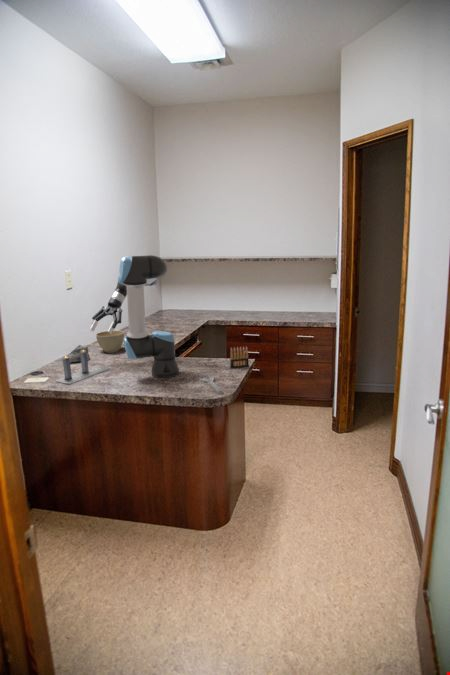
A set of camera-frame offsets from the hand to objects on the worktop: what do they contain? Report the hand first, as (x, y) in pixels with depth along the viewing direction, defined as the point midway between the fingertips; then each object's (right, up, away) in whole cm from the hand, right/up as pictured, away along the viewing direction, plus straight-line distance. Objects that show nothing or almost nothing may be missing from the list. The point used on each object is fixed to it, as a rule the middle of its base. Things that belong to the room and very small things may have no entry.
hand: (100, 331), depth 255 cm
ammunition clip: (+79, -20, -2) cm, 82 cm away
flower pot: (-4, -13, +42) cm, 45 cm away
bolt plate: (-7, -24, -8) cm, 26 cm away
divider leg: (-6, -22, -7) cm, 24 cm away
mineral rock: (-19, -18, +21) cm, 34 cm away
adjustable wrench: (+65, -28, -32) cm, 77 cm away
